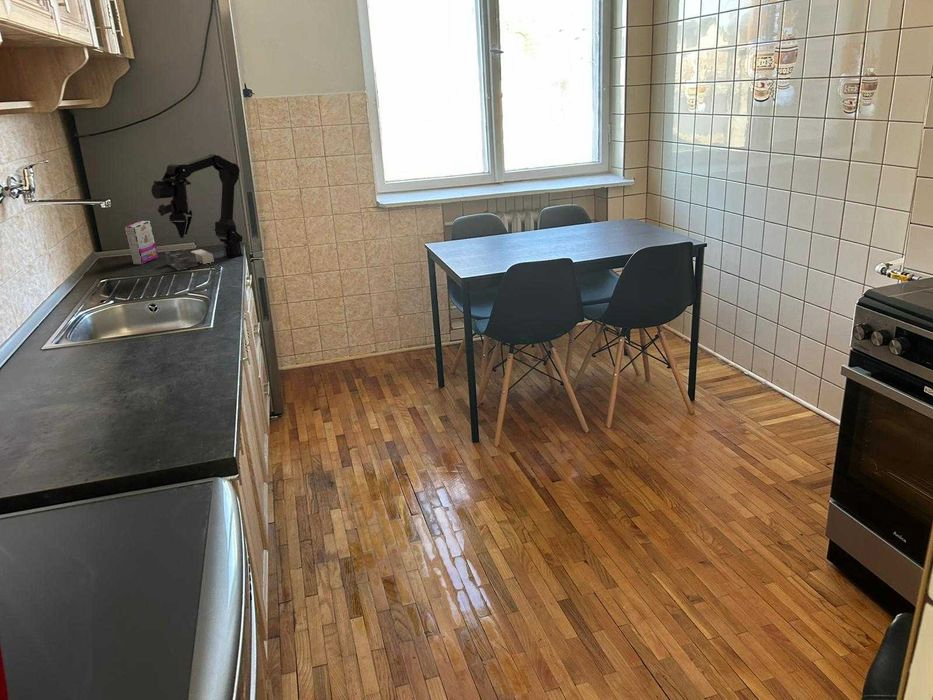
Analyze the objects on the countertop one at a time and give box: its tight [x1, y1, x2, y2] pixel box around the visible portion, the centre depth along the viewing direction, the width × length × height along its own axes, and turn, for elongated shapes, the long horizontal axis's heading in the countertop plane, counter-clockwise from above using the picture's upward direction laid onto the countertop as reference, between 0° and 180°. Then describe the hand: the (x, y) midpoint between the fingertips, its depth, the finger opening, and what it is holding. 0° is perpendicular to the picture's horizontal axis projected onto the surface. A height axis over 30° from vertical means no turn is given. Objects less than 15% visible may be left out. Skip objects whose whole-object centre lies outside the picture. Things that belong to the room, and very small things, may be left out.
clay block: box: [190, 249, 215, 265], centre depth 302 cm, size 4×12×4 cm, turn 42°
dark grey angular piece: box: [164, 248, 199, 270], centre depth 296 cm, size 8×14×6 cm, turn 42°
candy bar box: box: [124, 220, 159, 265], centre depth 303 cm, size 11×5×16 cm, turn 167°
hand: (183, 236), depth 287 cm, fingers open, 9 cm apart
